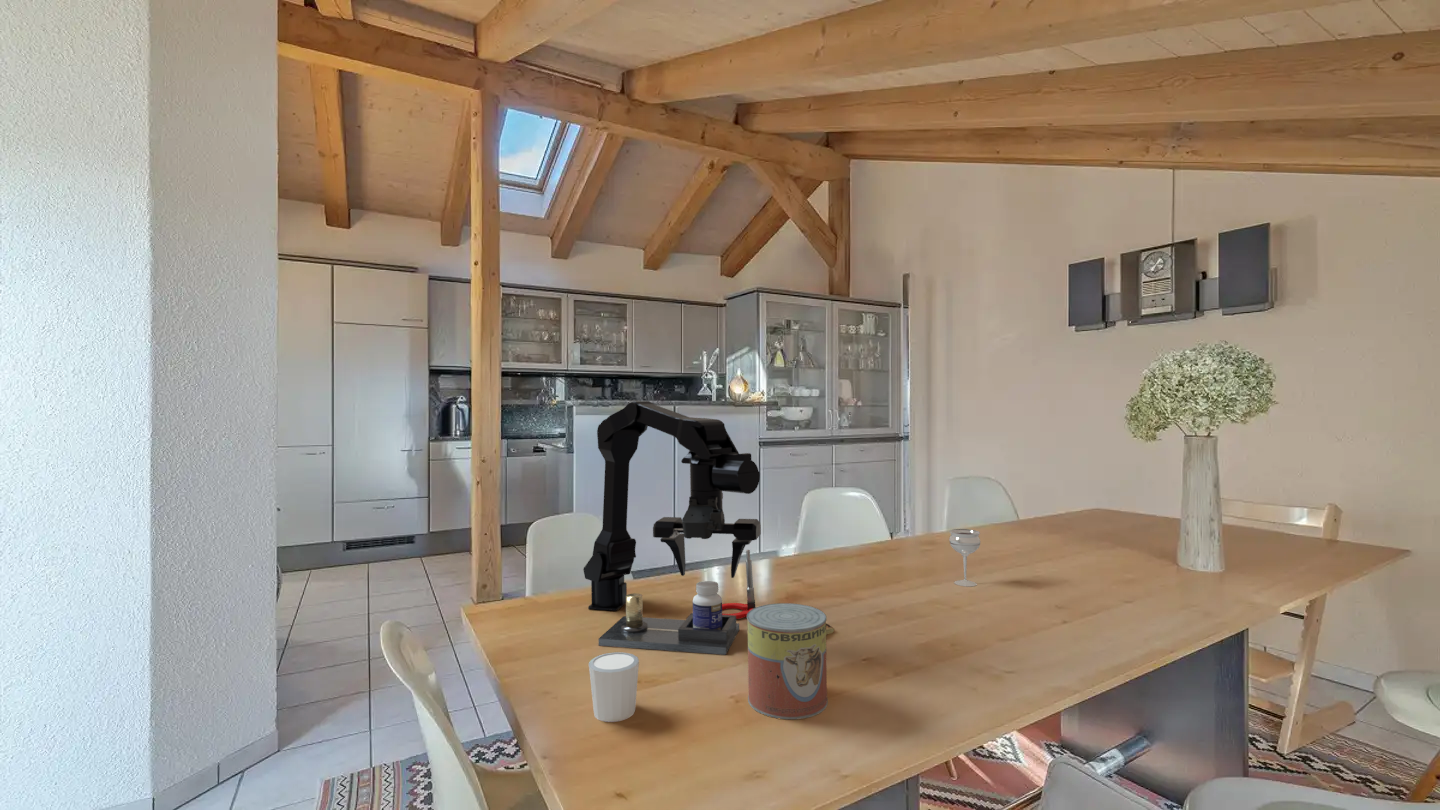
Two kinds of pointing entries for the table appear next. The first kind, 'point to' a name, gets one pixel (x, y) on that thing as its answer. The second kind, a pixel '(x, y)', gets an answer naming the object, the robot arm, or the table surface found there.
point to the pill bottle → (707, 606)
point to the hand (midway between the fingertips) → (707, 576)
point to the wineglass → (964, 548)
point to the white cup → (614, 685)
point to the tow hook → (750, 593)
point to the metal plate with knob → (667, 632)
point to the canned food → (787, 660)
